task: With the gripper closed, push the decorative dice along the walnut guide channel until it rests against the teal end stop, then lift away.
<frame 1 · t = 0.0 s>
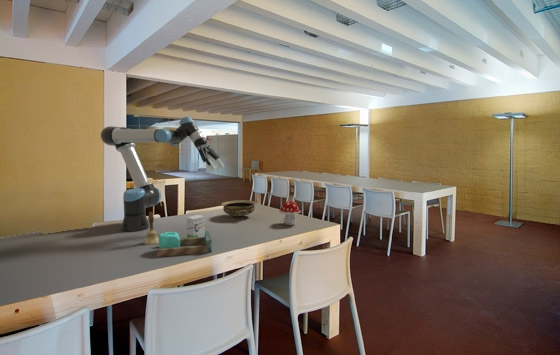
hand: (218, 168, 192), 36 cm above the table, tool tilted 35°, fingers open, 13 cm apart
ceramic bowl: (239, 217, 224), on the table
channel: (184, 249, 154), on the table
hand bell: (152, 242, 165), on the table
decorative mushroom: (289, 224, 206), on the table
ink box: (196, 238, 173), on the table
decorative dice: (169, 250, 152), on the table
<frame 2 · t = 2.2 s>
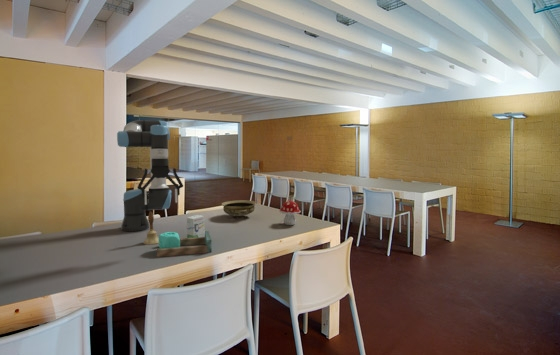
hand: (161, 203, 151), 22 cm above the table, tool pointing down, fingers open, 13 cm apart
nothing on the table moved.
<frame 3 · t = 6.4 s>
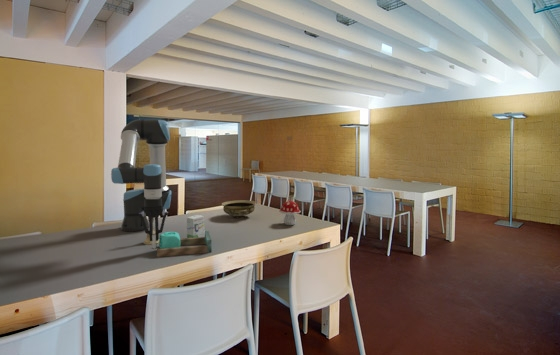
hand: (154, 247, 150), 2 cm above the table, tool pointing down, fingers closed
decorative dice: (169, 250, 152), on the table, touching gripper
everything else where it was.
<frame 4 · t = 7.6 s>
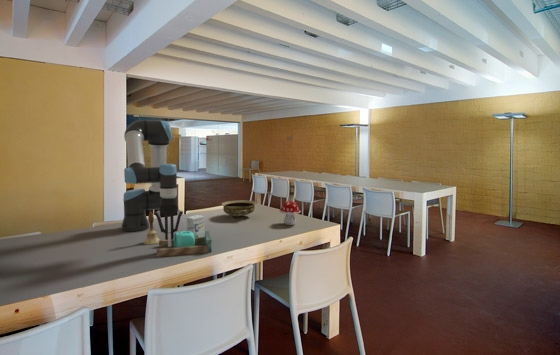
hand: (169, 246, 152), 2 cm above the table, tool pointing down, fingers closed
decorative dice: (184, 249, 154), on the table, touching gripper
everything else where it was.
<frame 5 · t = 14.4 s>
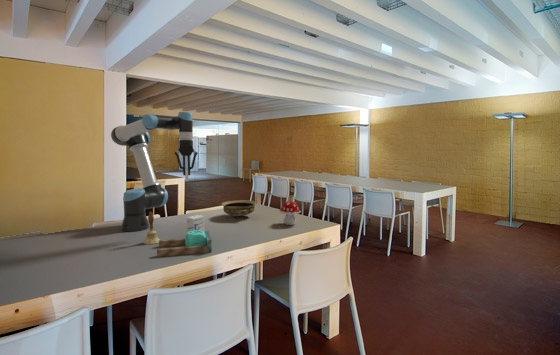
hand: (186, 181, 183), 29 cm above the table, tool pointing down, fingers closed
decorative dice: (195, 248, 156), on the table
everything else where it was.
at the end: decorative dice inside the target area (0.8 cm from its centre), on the table; decorative dice moved 12.2 cm from its start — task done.
